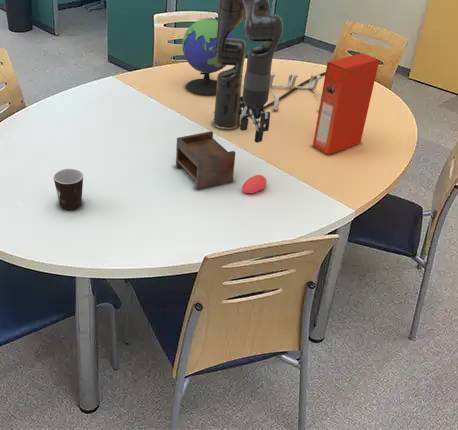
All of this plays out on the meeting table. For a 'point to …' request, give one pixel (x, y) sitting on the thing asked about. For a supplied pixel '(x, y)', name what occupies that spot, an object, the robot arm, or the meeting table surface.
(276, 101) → the over door rack
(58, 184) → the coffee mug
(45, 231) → the meeting table surface
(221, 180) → the rack
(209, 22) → the globe
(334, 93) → the file binder
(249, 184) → the red rounded oblong piece
